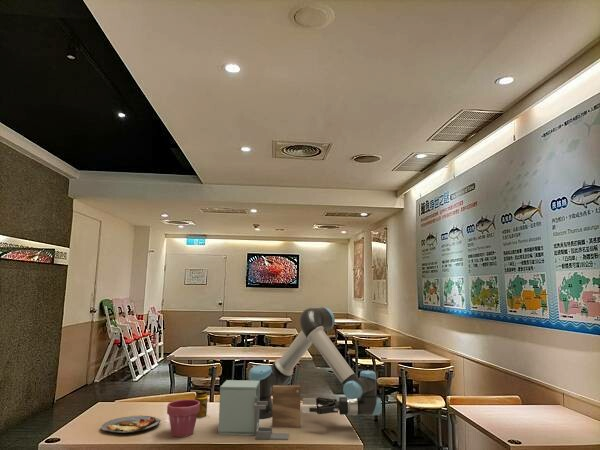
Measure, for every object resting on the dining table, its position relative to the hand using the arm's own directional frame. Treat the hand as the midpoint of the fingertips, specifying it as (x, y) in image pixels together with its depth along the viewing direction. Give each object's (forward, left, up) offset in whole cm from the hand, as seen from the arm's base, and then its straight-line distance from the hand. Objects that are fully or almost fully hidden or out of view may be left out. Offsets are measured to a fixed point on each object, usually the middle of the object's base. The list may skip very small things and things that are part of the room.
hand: (302, 405), depth 196 cm
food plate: (+5, -78, -10) cm, 79 cm away
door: (-1, -7, -10) cm, 12 cm away
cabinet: (+8, -21, -10) cm, 24 cm away
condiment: (-14, -52, -10) cm, 55 cm away
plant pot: (+12, -52, -10) cm, 55 cm away
